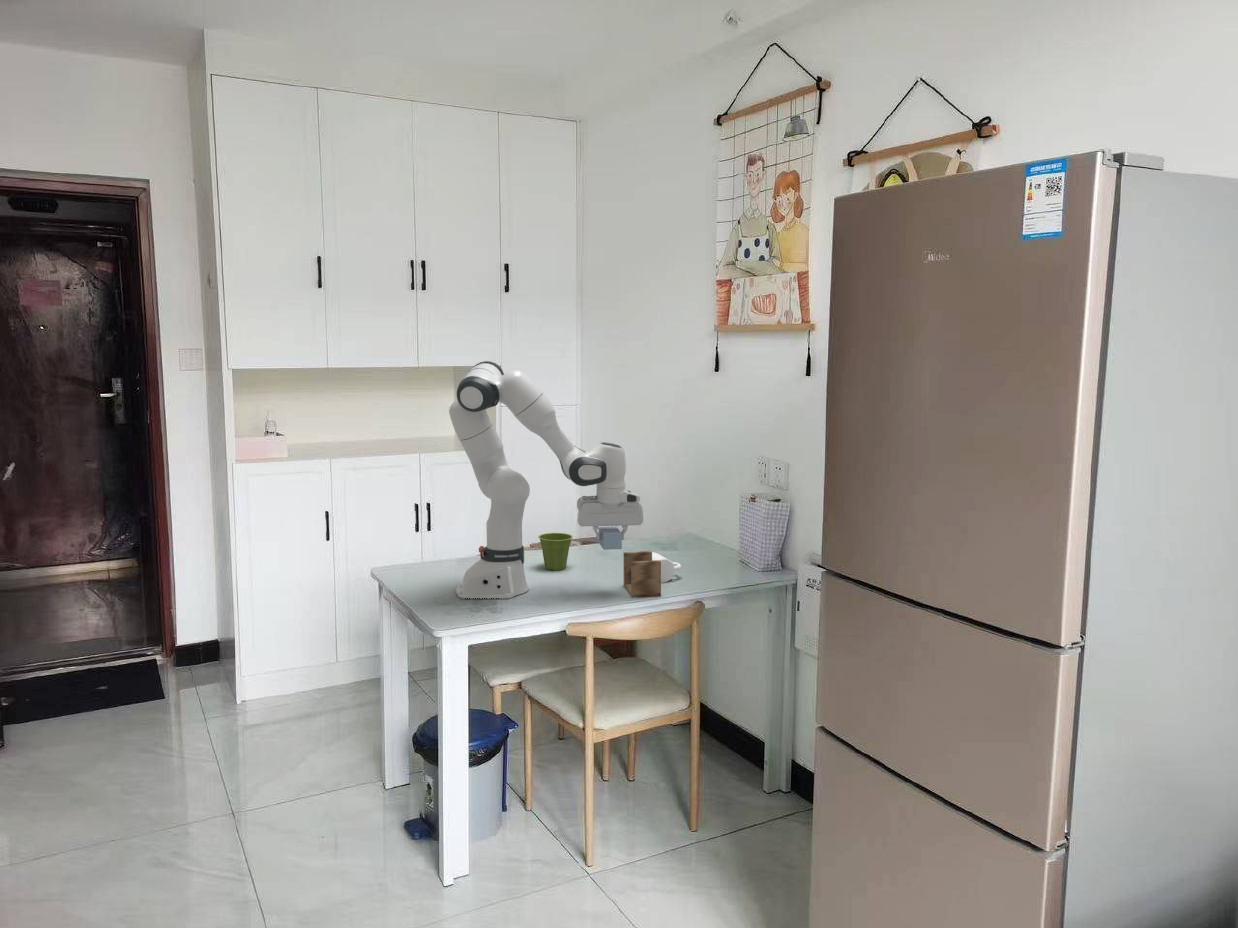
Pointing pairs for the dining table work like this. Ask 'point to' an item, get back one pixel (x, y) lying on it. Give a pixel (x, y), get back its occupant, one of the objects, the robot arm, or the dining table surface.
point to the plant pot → (555, 549)
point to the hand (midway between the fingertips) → (610, 539)
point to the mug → (666, 567)
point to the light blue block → (610, 538)
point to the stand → (642, 574)
